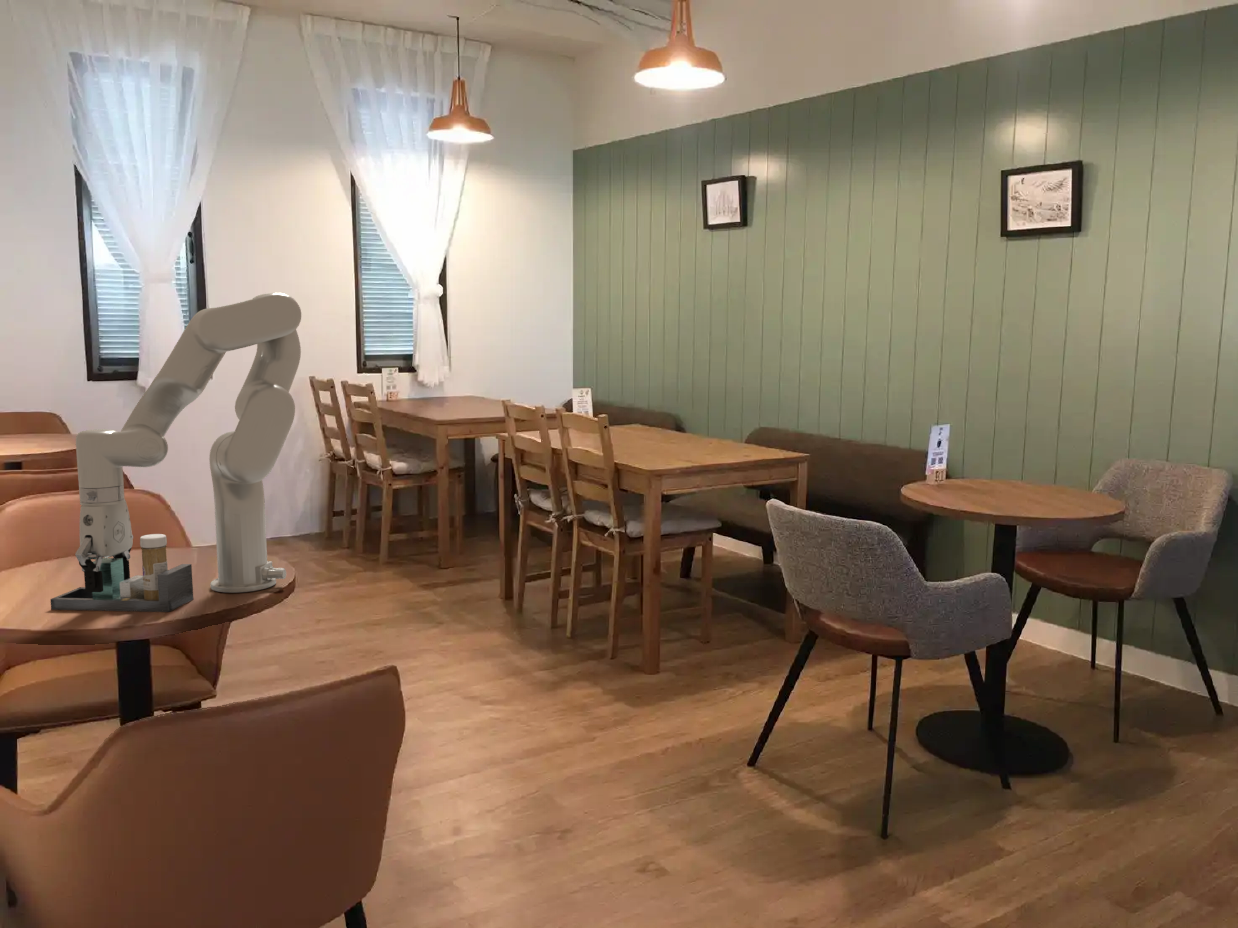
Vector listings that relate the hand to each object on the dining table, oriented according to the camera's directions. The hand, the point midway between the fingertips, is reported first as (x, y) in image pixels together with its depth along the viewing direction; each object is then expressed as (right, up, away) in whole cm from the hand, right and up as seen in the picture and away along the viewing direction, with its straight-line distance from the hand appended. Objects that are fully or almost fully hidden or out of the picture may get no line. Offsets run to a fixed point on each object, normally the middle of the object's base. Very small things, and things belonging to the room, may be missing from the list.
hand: (108, 585), depth 191 cm
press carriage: (+2, -4, 0) cm, 4 cm away
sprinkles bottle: (+9, -4, 0) cm, 10 cm away
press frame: (+3, -4, 0) cm, 5 cm away
